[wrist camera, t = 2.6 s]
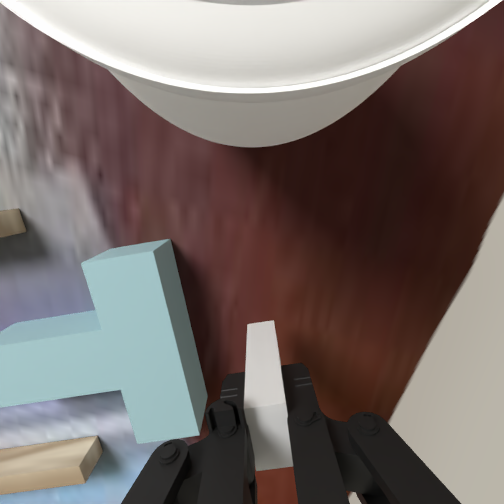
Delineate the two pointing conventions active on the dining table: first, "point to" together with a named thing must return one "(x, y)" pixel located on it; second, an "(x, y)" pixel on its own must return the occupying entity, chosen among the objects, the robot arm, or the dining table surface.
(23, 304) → the dining table surface
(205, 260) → the dining table surface
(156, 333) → the t block
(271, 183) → the dining table surface
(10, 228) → the dock
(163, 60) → the jar
